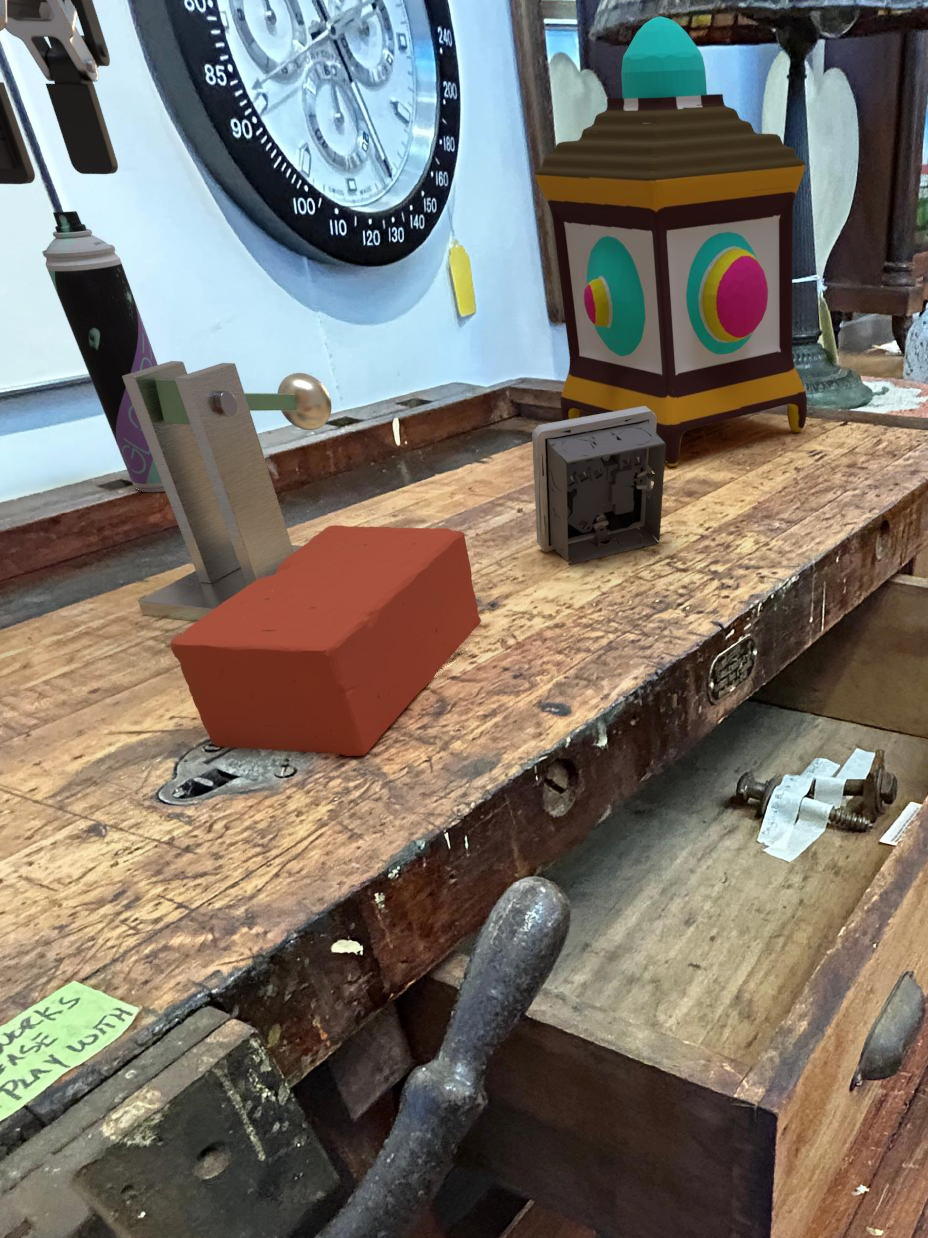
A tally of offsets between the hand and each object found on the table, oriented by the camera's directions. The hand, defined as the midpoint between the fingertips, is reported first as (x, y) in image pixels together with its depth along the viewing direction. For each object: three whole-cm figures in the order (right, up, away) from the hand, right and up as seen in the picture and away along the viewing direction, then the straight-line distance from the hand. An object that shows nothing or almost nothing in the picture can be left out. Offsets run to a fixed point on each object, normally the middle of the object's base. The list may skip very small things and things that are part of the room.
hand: (57, 178), depth 53 cm
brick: (+13, -24, +9) cm, 28 cm away
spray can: (-17, +4, +41) cm, 45 cm away
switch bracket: (+1, -14, +20) cm, 24 cm away
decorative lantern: (+30, +13, +48) cm, 58 cm away
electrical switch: (+26, -9, +24) cm, 37 cm away
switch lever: (+2, -4, +18) cm, 18 cm away
